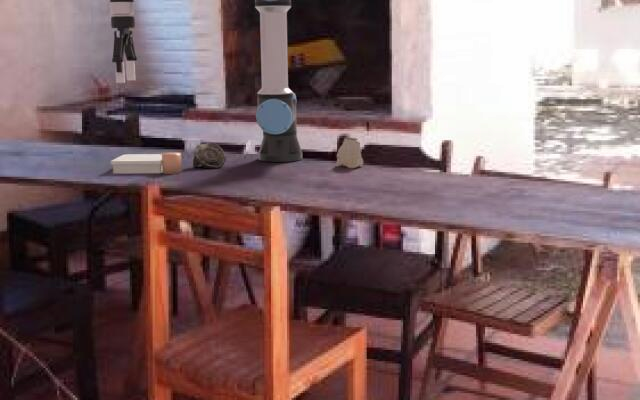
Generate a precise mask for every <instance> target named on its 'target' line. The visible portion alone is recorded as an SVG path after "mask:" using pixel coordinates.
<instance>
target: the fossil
mask: <svg viewBox="0 0 640 400" xmlns="http://www.w3.org/2000/svg"><path fill="white" fill-rule="evenodd" d="M226 161H227V156H226V155H225V152H224V150H223V148H221V146H220V145H219V144H218V143H216V142H206V143H202V144H197V145H196V146H195V149H194V156H193V161H192V168H198V167H199V166H202V167H203V168H206V169H210V170H215V169H221V168H222V167H223V166H224V164H225V163H226Z"/></svg>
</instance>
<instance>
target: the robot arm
mask: <svg viewBox="0 0 640 400" xmlns="http://www.w3.org/2000/svg"><path fill="white" fill-rule="evenodd" d="M134 3H135V1H134V0H109V5H108V8H109V9H110V14H111V17H110V26H111V28H112V29H117V30H114V32H113V49H112V50H113V52H112V60H111V62H112V63H114V69H115V71H114V72H115V83H116V84H125V83H126V81H136V65H135V61H138V58H137V57H138V56H136V48H135V44H134V38H133V36H134V35H133V30H130V29H135V27H136V25H135V24H136V21H135V17H134V15H135V4H134ZM254 8H255V9H256V10H257V11H258V12H259V19H260V20H259V25H260V27H259V29H260V33H259V34H260V63H261V65H260V66H261V67H260V68H261V87H260V89H259V90H258V91H257V110H256V113H255V118H256V123H257V124H258V126H259V127H260V129H261V130H262V135H263V136H262V141H261V144H260V147H259V151H258V160H259V161H260V162H261V161H262V162H270V163H284V162H285V163H286V162H296V161H300V160H302V159H303V150H302V148H301V145H300V142H299V139H298V131H297V129H298V128H297V125H298V124H297V103H298V100H297V95H296V93H295V92H293V90H291V89H290V88H289V74H288V73H289V69H288V68H289V66H288V65H289V64H288V63H289V62H288V19H287V18H288V16H287V14H288V11H289V10H290V9H291V8H292V0H254ZM124 55H125V59H126V60H125V62H124ZM125 68H126V70H125ZM125 71H126V77H125ZM125 78H126V79H125Z"/></svg>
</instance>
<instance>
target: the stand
mask: <svg viewBox="0 0 640 400" xmlns="http://www.w3.org/2000/svg"><path fill="white" fill-rule="evenodd" d="M162 154H163V153H156V154H155V153H152V154H151V153H150V154H149V153H138V154H137V153H136V154H134V153H133V154H132V153H131V154H130V153H129V154H128V153H127V154H125V153H124V154H122V155H120V156H118V157H116V158H114V159H112V160H110V165H112V173H113V174H161V173H163V169H162ZM113 174H112V175H113Z"/></svg>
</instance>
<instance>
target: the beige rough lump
mask: <svg viewBox="0 0 640 400" xmlns="http://www.w3.org/2000/svg"><path fill="white" fill-rule="evenodd" d="M336 159H337V160H336V165H338V166H339V167H344V166H345V167H347V168H349V169H357V167H359V168H361V167H362V166H363V164H364V159H363V157H362V152H361V141H360V140H359V138H356V137H345V138H344V140H343V141H342V144H341V145H340V147H339V149H338V151H337V154H336Z"/></svg>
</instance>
